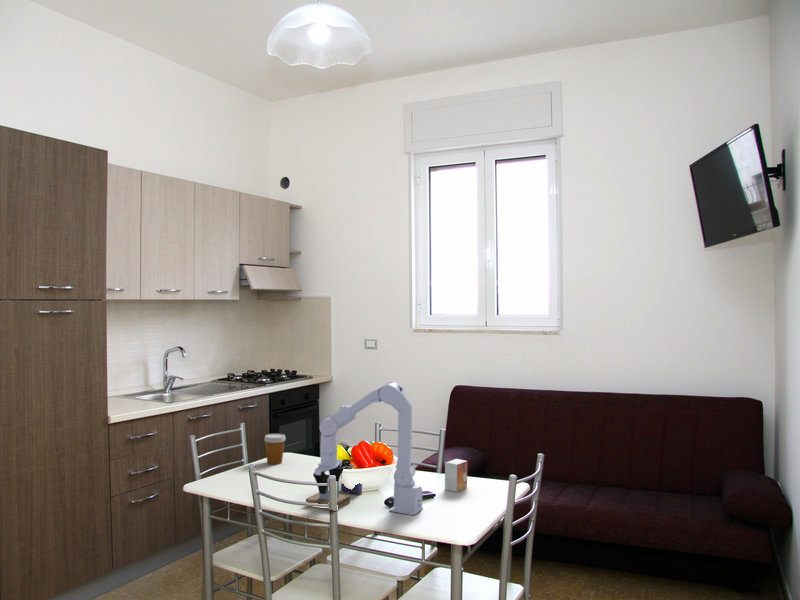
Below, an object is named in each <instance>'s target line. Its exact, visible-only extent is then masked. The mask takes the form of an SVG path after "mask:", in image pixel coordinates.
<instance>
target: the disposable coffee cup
mask: <svg viewBox="0 0 800 600" xmlns="http://www.w3.org/2000/svg"><path fill="white" fill-rule="evenodd" d="M286 439H287V438H286V434H284V433H283V434H282V433H268V434H265V436H264V439H263V440H264V442H265V445H264V446H265V452H266V454H265V455H266V463H267V464H268V465H275V466H277V465H280V464H282V463H283V456H284V448H285V443H286Z"/></svg>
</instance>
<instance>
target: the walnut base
mask: <svg viewBox="0 0 800 600" xmlns="http://www.w3.org/2000/svg"><path fill="white" fill-rule="evenodd" d="M306 502H308V503H318V504H328V503H329V500H325V499H319V492H317V493H315V494H313V495H311V496H309V497H306V498H305V503H306ZM349 504H351V496H350V495H346V494H341V493H339V497H337V505H338V510H340V509H342V508H344V507H346V506H348V505H349ZM318 509H320V510H325V511H330V510H329V508H318ZM338 510H337V511H338Z"/></svg>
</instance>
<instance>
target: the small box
mask: <svg viewBox="0 0 800 600" xmlns="http://www.w3.org/2000/svg"><path fill="white" fill-rule="evenodd" d="M467 488H468V461H467V460H464V459H459V458H455V459H452V460H448V461H445V462H444V490H446V491H447V490H448V491H452V492H460V491H462V490H464V489H467Z"/></svg>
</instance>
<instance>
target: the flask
mask: <svg viewBox="0 0 800 600" xmlns="http://www.w3.org/2000/svg"><path fill="white" fill-rule="evenodd" d="M354 466H355V464H354V463H349V466H348V465H346V466H342V467H343V468H346V467H348V468H347V469H349V468H350V469H352V468H353V469H354ZM340 487H341V488H340V492H342V493H345V494H346V493H347V494H352V495H356V496H357V495H359V496H360V495H363V483H362V484H360V483H359V484H357V485H355V487H354V488H353V489H352V490H351V489H348V488H346V487H345V486H344V484H342V483H341V482H340Z"/></svg>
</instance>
